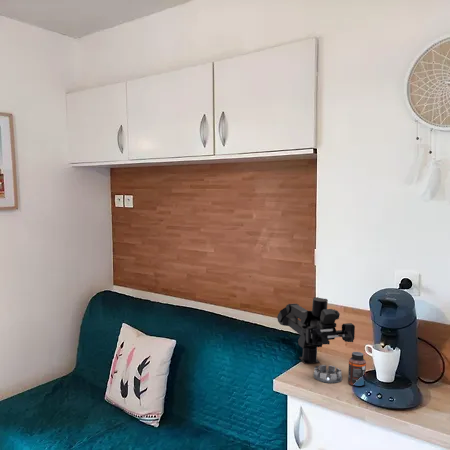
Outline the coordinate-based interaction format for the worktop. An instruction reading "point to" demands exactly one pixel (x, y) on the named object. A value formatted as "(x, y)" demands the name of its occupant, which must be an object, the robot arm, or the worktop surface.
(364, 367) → the supplement bottle
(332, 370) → the ring collar
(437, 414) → the worktop surface
